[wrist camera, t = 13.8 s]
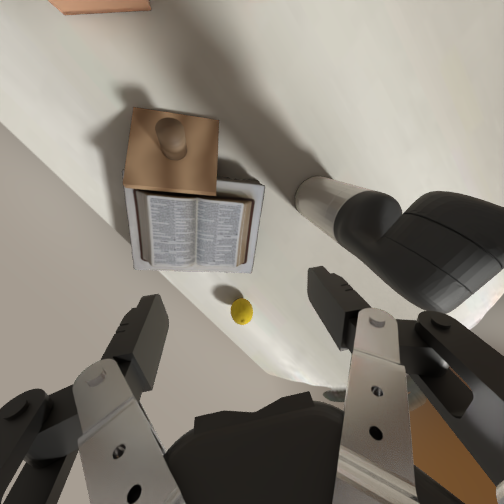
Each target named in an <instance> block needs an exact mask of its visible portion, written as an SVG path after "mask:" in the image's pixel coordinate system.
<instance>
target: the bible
mask: <svg viewBox="0 0 504 504" xmlns="http://www.w3.org/2000/svg"><path fill="white" fill-rule="evenodd" d="M124 171H125V169H123V170H122V176H123V178H124ZM123 186H124V185H123ZM124 192H125V202H126V208H127V217H128V222H129V232H130V239H131V247H132V258H133V263H134V269H135V270H165V271H186V272H233V273H252V269H253V264H254V257H255V250H256V244H257V237H258V230H259V223H260V216H261V211H262V205H263V199H264V192H265V186H264V185H262V184H260V182H259V181H258V180H238V179H230V178H224V177H217V185H216V196H211V195H199V194H188V193H177V192H165V191H154V190H143V189H131V188H125V187H124Z"/></svg>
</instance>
